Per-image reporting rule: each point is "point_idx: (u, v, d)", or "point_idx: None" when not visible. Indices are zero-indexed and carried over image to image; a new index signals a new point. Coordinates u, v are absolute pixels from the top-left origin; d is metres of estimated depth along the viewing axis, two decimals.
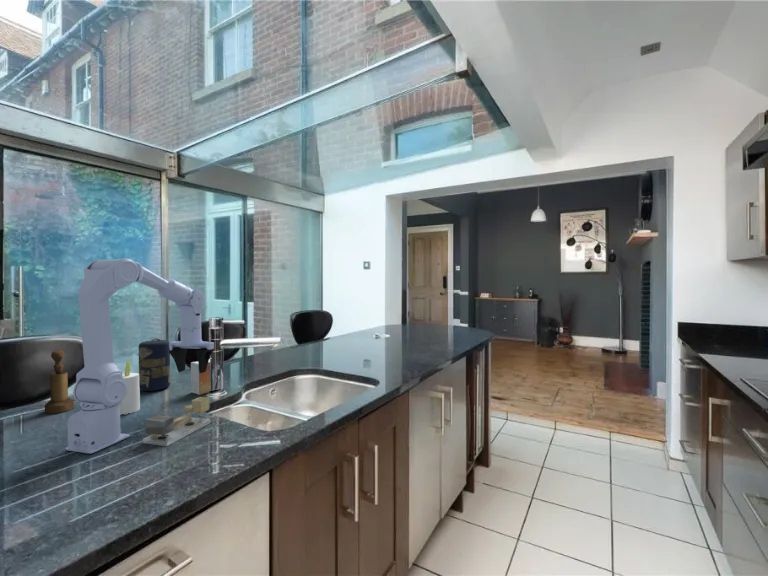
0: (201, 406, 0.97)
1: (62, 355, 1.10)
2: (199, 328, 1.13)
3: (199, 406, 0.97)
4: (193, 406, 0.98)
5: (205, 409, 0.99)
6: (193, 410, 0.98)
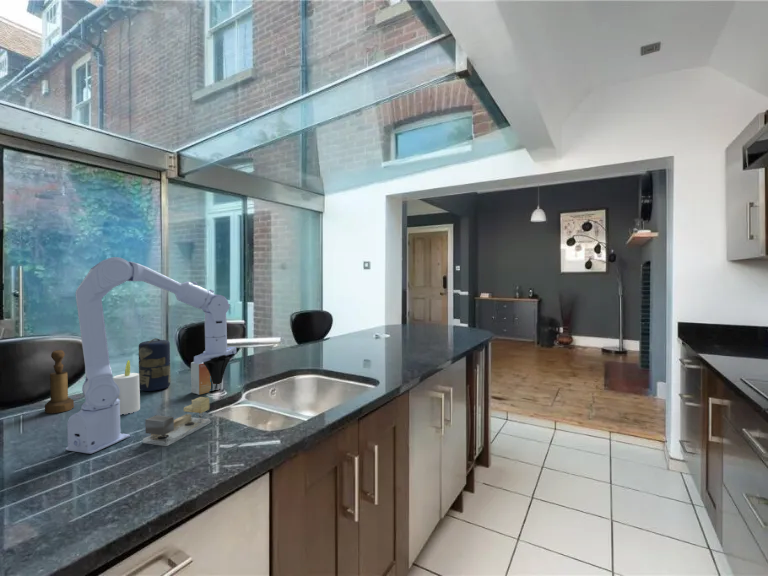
0: (201, 406, 0.97)
1: (62, 355, 1.10)
2: None
3: (199, 406, 0.97)
4: (193, 406, 0.98)
5: (205, 409, 0.99)
6: (193, 410, 0.98)
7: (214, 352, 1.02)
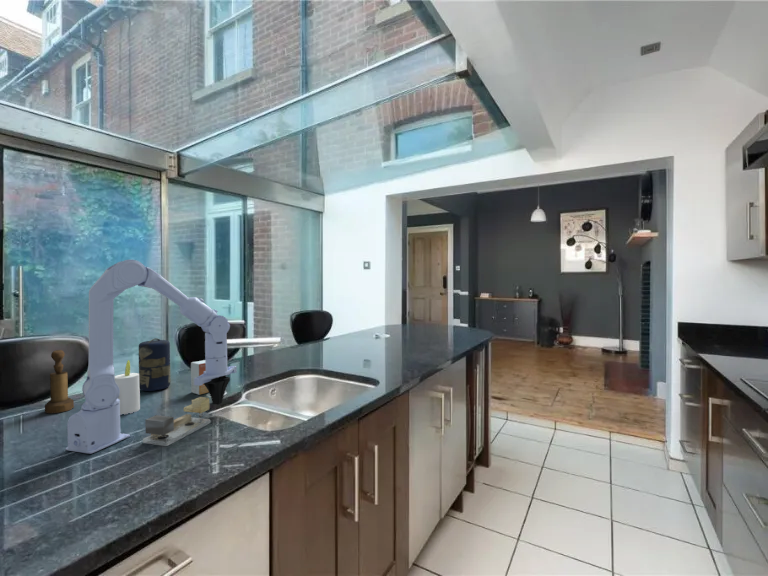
0: (201, 406, 0.97)
1: (62, 355, 1.10)
2: None
3: (199, 406, 0.97)
4: (193, 406, 0.98)
5: (205, 409, 0.99)
6: (193, 410, 0.98)
7: (214, 373, 1.02)
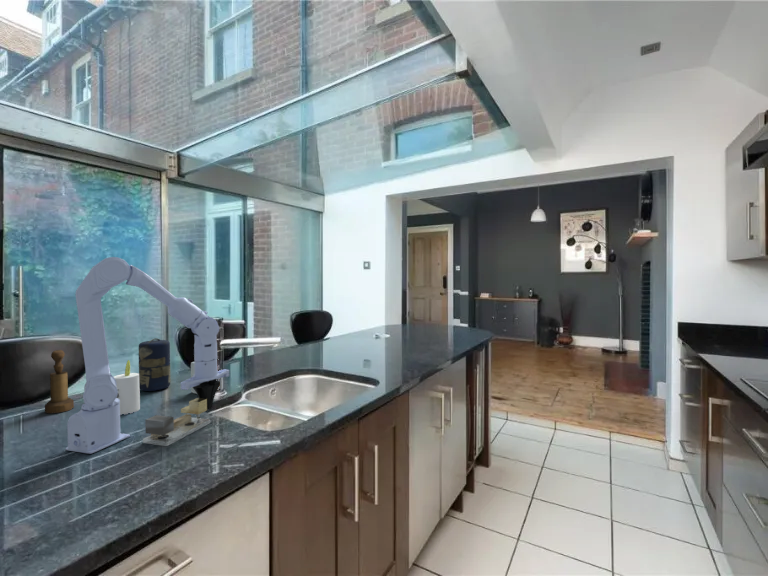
0: (198, 407, 0.96)
1: (62, 355, 1.10)
2: None
3: (196, 407, 0.97)
4: (190, 407, 0.97)
5: (203, 410, 0.98)
6: (190, 411, 0.97)
7: (203, 377, 0.98)
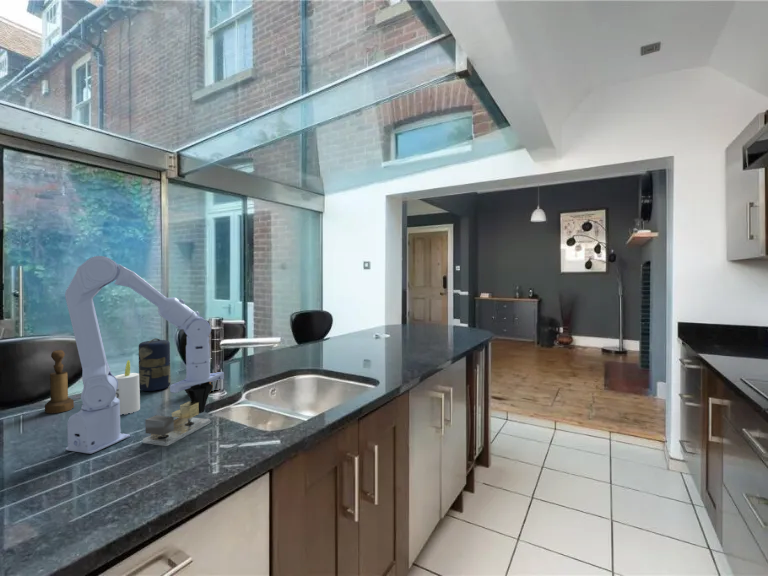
0: (190, 411, 0.94)
1: (62, 355, 1.10)
2: None
3: (188, 411, 0.94)
4: (181, 411, 0.94)
5: (194, 414, 0.95)
6: (181, 415, 0.94)
7: (193, 380, 0.96)
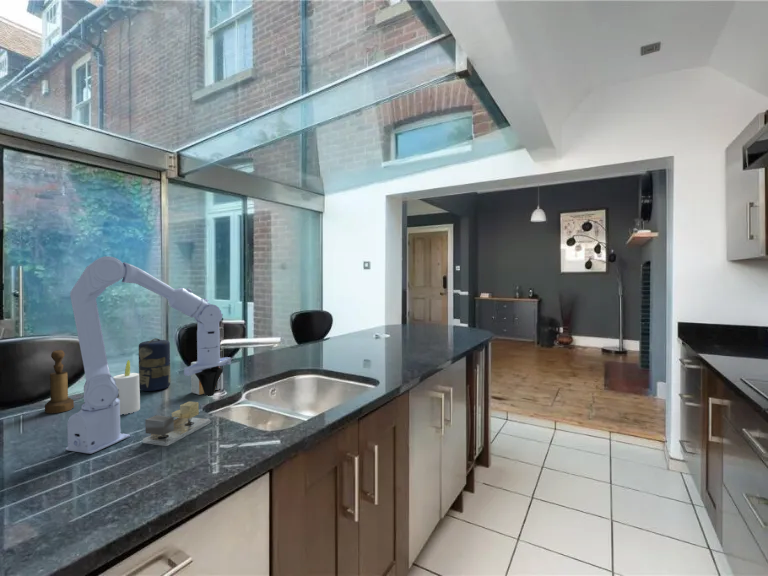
0: (190, 411, 0.94)
1: (62, 355, 1.10)
2: None
3: (188, 411, 0.94)
4: (181, 411, 0.94)
5: (194, 414, 0.95)
6: (181, 415, 0.94)
7: (205, 363, 0.99)
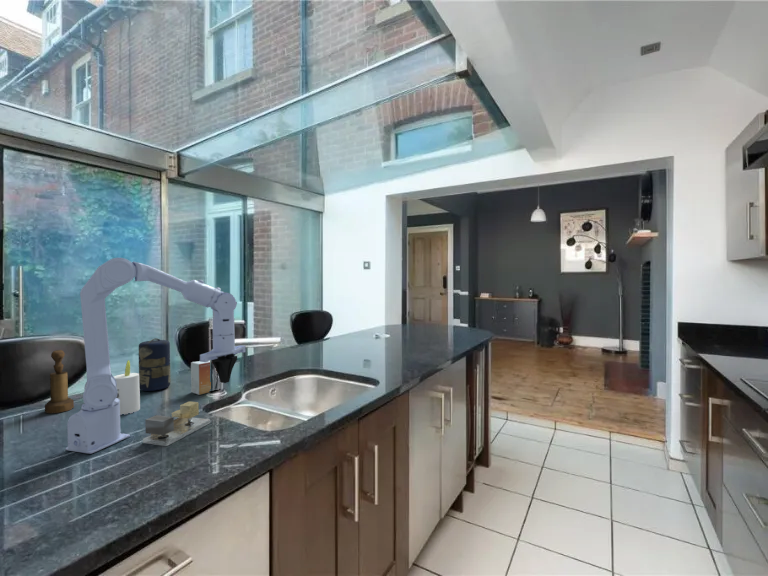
0: (190, 411, 0.94)
1: (62, 355, 1.10)
2: None
3: (188, 411, 0.94)
4: (181, 411, 0.94)
5: (194, 414, 0.95)
6: (181, 415, 0.94)
7: (221, 350, 1.01)
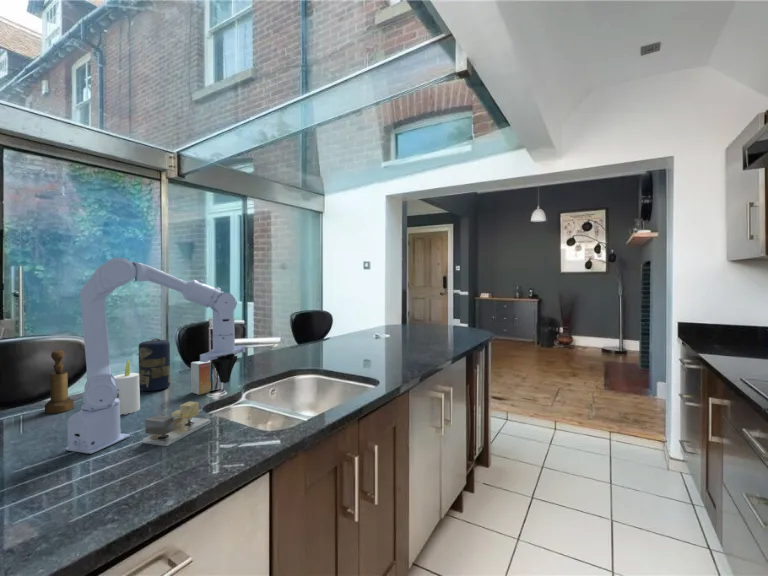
0: (190, 411, 0.94)
1: (62, 355, 1.10)
2: None
3: (188, 411, 0.94)
4: (181, 411, 0.94)
5: (194, 414, 0.95)
6: (181, 415, 0.94)
7: (221, 350, 1.01)
